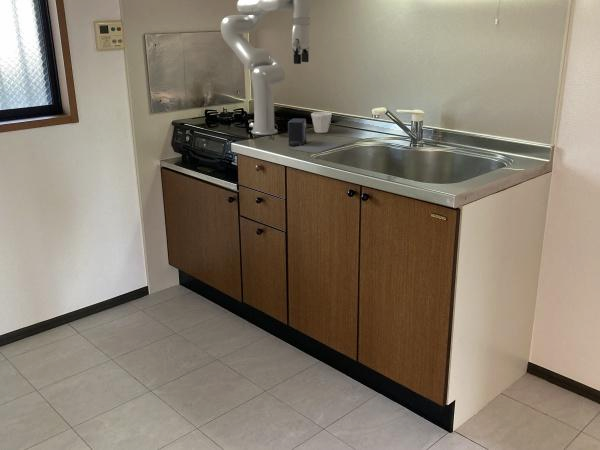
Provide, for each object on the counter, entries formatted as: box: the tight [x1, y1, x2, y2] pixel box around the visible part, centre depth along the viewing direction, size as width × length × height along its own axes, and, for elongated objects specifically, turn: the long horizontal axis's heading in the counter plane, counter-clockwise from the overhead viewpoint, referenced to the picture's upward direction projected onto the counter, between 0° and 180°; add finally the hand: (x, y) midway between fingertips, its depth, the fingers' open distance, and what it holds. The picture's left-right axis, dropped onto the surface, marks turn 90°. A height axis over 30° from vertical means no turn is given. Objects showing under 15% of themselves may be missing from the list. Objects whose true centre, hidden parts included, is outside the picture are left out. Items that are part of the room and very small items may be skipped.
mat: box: [290, 140, 346, 155], centre depth 273 cm, size 14×22×1 cm, turn 143°
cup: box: [310, 111, 333, 134], centre depth 303 cm, size 10×10×9 cm
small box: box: [287, 118, 307, 146], centre depth 278 cm, size 11×6×10 cm, turn 168°
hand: (301, 62), depth 277 cm, fingers open, 9 cm apart
